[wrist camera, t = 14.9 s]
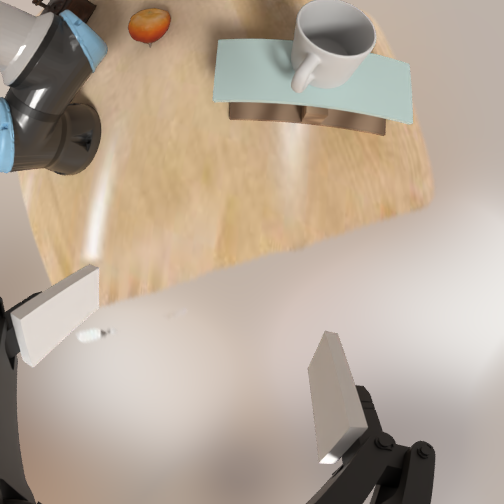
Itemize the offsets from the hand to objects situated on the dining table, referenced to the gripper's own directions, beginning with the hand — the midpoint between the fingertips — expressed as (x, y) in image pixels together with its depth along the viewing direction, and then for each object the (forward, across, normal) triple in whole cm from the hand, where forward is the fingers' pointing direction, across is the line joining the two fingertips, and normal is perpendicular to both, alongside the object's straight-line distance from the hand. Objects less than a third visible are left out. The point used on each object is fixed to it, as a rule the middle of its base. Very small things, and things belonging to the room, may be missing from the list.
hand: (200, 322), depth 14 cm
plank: (+25, +4, +24) cm, 35 cm away
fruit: (+33, -27, +32) cm, 54 cm away
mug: (+24, +4, +24) cm, 34 cm away
